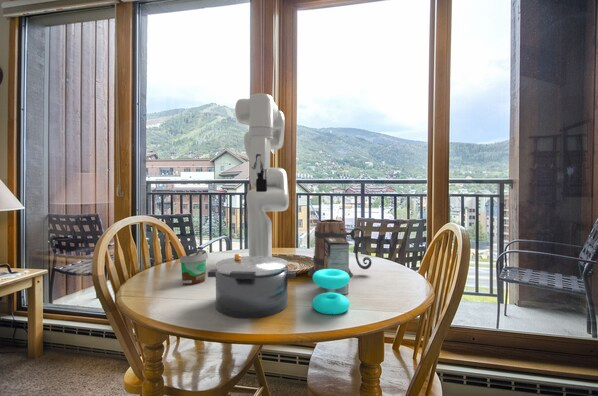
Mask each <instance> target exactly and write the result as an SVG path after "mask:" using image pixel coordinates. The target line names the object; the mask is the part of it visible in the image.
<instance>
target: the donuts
mask: <svg viewBox="0 0 598 396" xmlns="http://www.w3.org/2000/svg"><path fill="white" fill-rule="evenodd" d="M350 279H351V278H350V277H349V275H348V274H347V273H346V272H344V271H342V270H337V269H322V270H318V271H316V272H315V273H314V274H313V278H312V282H313V283H314V284H315V285H316V286H318V287H319V288H322V289H326V288H327V289H338V288H342V287H344V286H346V285H347V284H348V285H349V283H350ZM327 289H326V290H327ZM312 306H313V309H314V310H315V311H317V312H318V313H321V314H324V315H332V314H333V315H340V314H344V313H345V312H347V311H348V310H349V308H350V301H349V299H348V298H347V296H345V295H344V294H338V293H332V292H328V291H327V292H322V293H318V294H317V295H316V296H314V298H313V300H312Z"/></svg>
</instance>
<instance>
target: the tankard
mask: <svg viewBox="0 0 598 396" xmlns="http://www.w3.org/2000/svg"><path fill="white" fill-rule="evenodd" d="M356 231H360V237H359V239H358V240H357V242H356V244H355V248H354V250H355V251H354V255H355V260H356V262H357V266H358V267H359V268H361V270H367V269H369V268H370V267H371V266H372V264H373V263H372V259H371V258H370V257H369V256H365V257H363V259H362V262H363V264H364V265H363V264H361V262H360V261H359V257H358V256H359V253H358V251H359V246H361V245H360V244H361V243H362V242H363V239H364V235H365V233H364V230H363V229H362V228H361V227H359V226H356V227H353V228H352V229H351V231H350V232H348V231H347V229H346V224H345V221H344V220H338V219H323V220H317V221H316V226H315V230H314V250H313V252H314V253H313V254H314V255H313V256H312V261H313V266H312V267H311V268H310V270H309V271H308V272H307V276H309V277H310V278H312V279H313V274H314V273H315V272H316V271H318V270H322V269H324V238H343V239H345V240H346V241H347V236H350V237H351V239H352V240H353V241H356V237H355V236H356ZM366 261H368V262H366ZM353 276H354V274H353V272H352V271H351V269H350V268H349V277H350V279H351V278H353Z"/></svg>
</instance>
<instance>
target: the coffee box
mask: <svg viewBox="0 0 598 396" xmlns="http://www.w3.org/2000/svg"><path fill="white" fill-rule="evenodd" d="M349 261H350V242H349V241H347V239H346V240H345V239H343V238H324V269H337V270H342V271H344V272H346V273H347V274H348V275H349V269H350V267H349V266H350V263H349ZM325 289H326V292H327V293H328V292H332V293H338V294H341V295H349V283H348V284H347V285H346V286H344V287H342V288H338V289H327V288H325Z"/></svg>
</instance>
